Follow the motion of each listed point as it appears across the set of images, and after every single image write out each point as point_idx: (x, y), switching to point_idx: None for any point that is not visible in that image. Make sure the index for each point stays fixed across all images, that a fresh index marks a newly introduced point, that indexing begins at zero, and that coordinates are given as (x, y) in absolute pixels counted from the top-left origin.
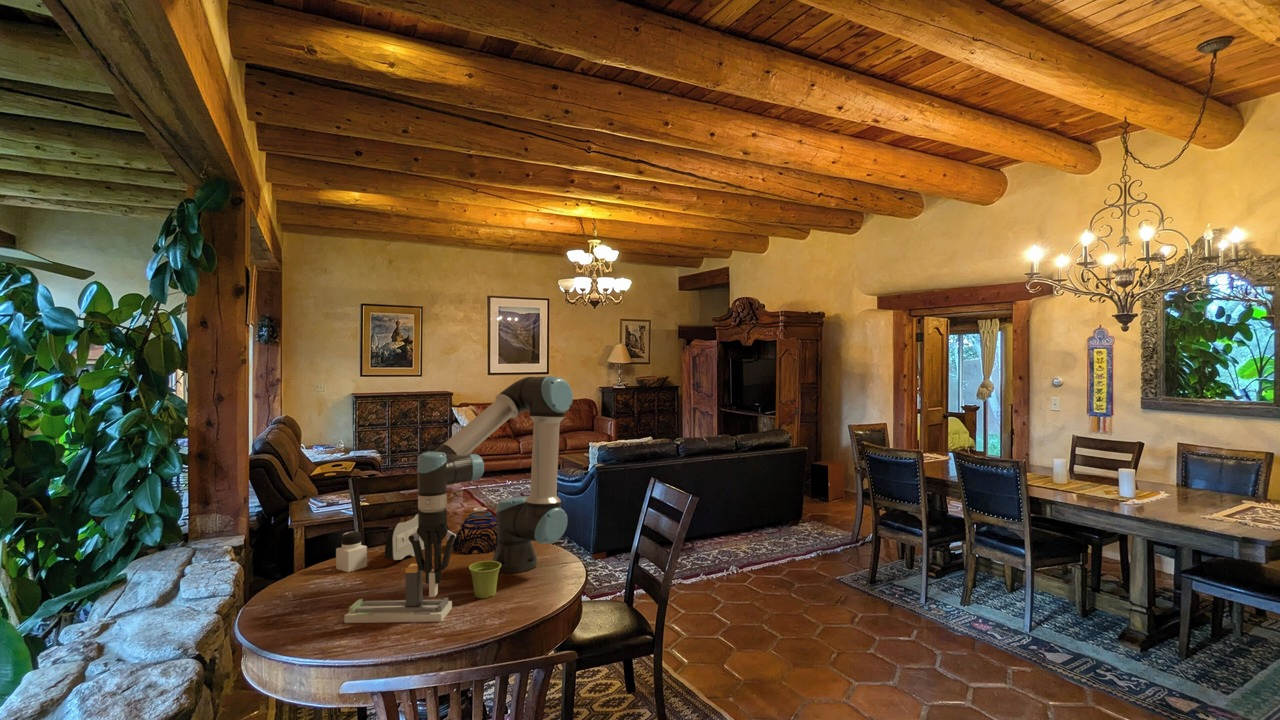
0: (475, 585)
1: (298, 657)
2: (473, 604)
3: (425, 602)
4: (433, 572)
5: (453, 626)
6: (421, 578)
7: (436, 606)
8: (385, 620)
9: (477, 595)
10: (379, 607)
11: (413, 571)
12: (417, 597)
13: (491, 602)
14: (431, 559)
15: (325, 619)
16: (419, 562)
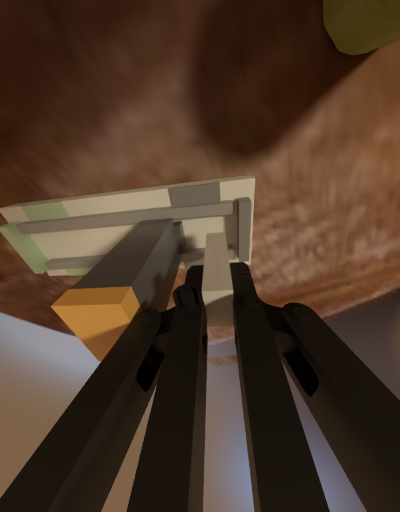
0: (370, 19)
1: None
2: (318, 134)
3: (183, 217)
4: (226, 320)
5: (279, 272)
6: (154, 264)
7: (221, 223)
8: None
9: (343, 47)
10: (93, 260)
11: None
12: (176, 266)
13: (392, 103)
14: (199, 370)
15: (10, 254)
16: (144, 385)
